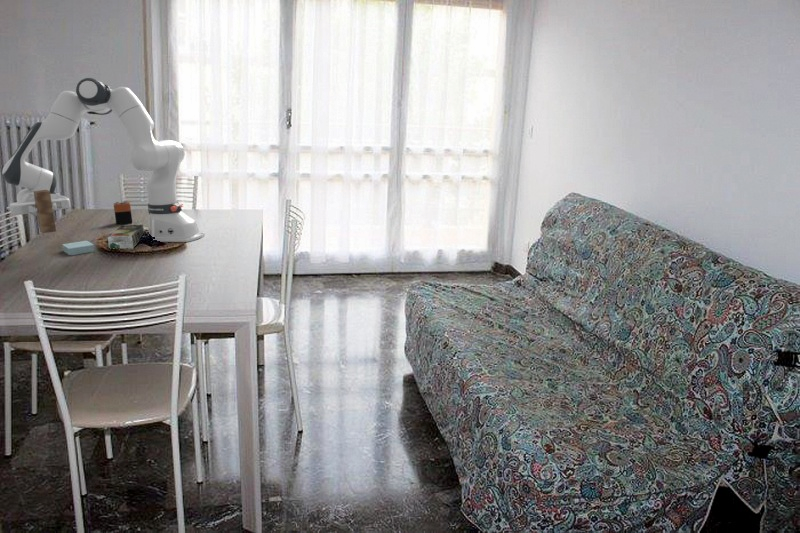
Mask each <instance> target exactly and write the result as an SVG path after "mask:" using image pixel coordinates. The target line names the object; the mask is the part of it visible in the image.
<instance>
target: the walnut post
mask: <svg viewBox="0 0 800 533" xmlns="http://www.w3.org/2000/svg"><path fill="white" fill-rule="evenodd" d="M33 192H34V198H35V204H36V207H38V211H39V212H37V216H36V217H37V222H38V227H39V232H41V233H42V234H47V233H48V234H49V233H53V232H54V233H55V232H57V229H56V222H55V214H54V211H53V208H52V202H51V195H50V191H48V190H40V191H33Z"/></svg>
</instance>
